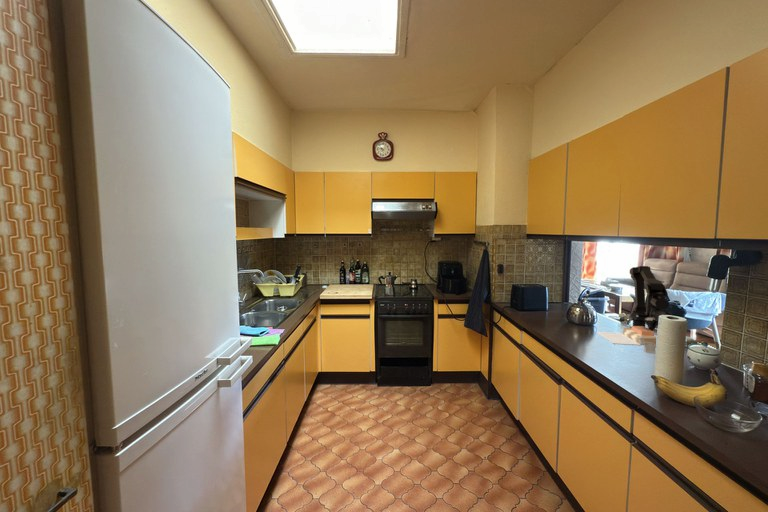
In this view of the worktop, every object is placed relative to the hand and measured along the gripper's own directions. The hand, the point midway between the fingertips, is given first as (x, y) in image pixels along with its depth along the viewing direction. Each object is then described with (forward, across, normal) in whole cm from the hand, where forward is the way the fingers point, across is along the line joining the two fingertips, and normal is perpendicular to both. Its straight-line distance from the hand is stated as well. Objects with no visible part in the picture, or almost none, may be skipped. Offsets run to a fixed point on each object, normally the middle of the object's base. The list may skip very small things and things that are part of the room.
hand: (651, 331), depth 167 cm
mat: (+5, -17, 0) cm, 17 cm away
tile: (+1, -4, 0) cm, 5 cm away
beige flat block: (+5, -13, -18) cm, 23 cm away
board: (+5, -5, 0) cm, 7 cm away
